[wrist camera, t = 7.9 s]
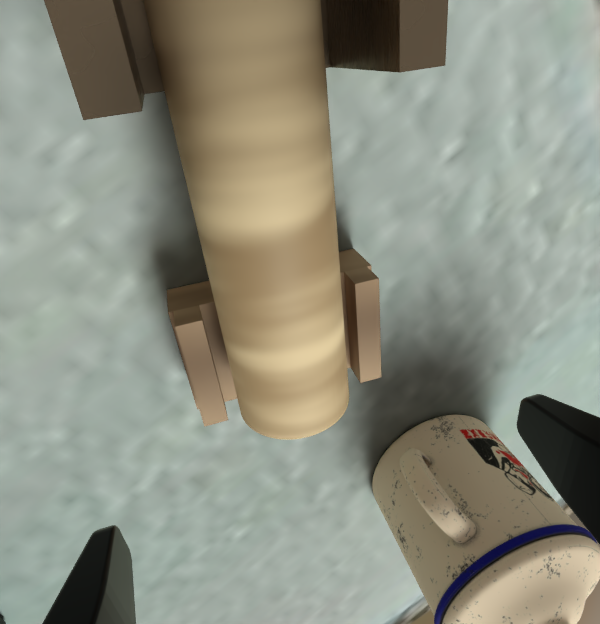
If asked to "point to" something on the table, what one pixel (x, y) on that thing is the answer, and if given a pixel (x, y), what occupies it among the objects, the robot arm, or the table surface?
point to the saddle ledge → (211, 349)
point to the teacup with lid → (482, 529)
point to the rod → (262, 197)
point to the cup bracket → (144, 66)
